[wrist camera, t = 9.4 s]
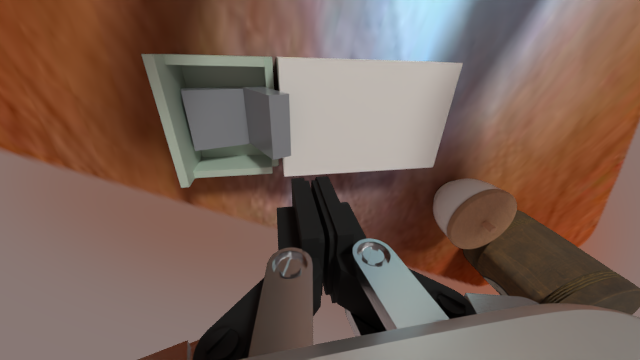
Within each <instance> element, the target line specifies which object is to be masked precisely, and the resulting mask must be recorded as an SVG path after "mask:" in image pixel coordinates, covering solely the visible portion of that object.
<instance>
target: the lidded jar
mask: <svg viewBox="0 0 640 360" xmlns="http://www.w3.org/2000/svg"><path fill="white" fill-rule="evenodd" d="M433 202H434V203H433V215H434V218H435V221H436V222H437V224H438V226H439V227H440V229H441V230H442V231H443V233H444V234H445V235H446V236H447V237H448V238H449V240H450V241H451V242H452V243H453V244H454V245H455V246H456V247H458V248H462V249H474V248H478V247H481V246H484V245H486V244H488V243H490V242H491V241H493V240H495V239H496V238H497V237H499V236H500V235H501V234H502V233H503V232H504V231H505V230H506V229H507V228H508V227H509V225H510V224H511V222H512V221H513V219H514V217H515V214H516V211H517V203H516V200H515V198H514V197H513V196H512V195H511V194H510V193H508V192H506V191H504V190H501V189H499V188H497V187H496V186H494V185H491V184H489V183H487V182H484V181H481V180H477V179H459V180H456V181H450V182H448V183H446V184H444V185H443V186H441V187H440V188H439V189H438V191H437V192H436V194H435V196H434V201H433Z"/></svg>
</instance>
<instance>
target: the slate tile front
mask: <svg viewBox="0 0 640 360" xmlns="http://www.w3.org/2000/svg"><path fill="white" fill-rule="evenodd" d="M243 92H244V100H245V108H246V116H247V125H248V133H249V141H250V143H251V144H252V145H254V146H255V147H256V148H258V149H259V150H260V151H262V152H263V153H264V154H266V155H267V156H268V157H270V158H271V159H273V160H276V159H280V158H284V157H288V156H291V137H290V106H289V94H288V93H284V92H280V91H277V90H273V89H269V88H266V87H262V86H256V87H243Z"/></svg>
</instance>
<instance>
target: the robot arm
mask: <svg viewBox="0 0 640 360" xmlns="http://www.w3.org/2000/svg"><path fill="white" fill-rule="evenodd" d="M277 225H278V249H279V251H277V252H276V253H274V254H273V255H272V256H271V257H270V259H269V261H268V263H267V267H266V272H265V277H264V278H263V279H262V280H261V281H260V282H259V283H258V284H257V285H256V286H255V287H253V288H252V289H251V290H250V291H249V292H248V293H247V294H246V295H245V296H244V297H243V298H242V299H241V300H240V301H238V302H237V303H236V304H235V305H234V306H233V307H232V308H231V309H230V310H229V311H228V312H227V313H226V314H224V316H223V317H221V318H220V319H219V320H218V321H217V322H216V323H215V324H214V325H213V326H212V327H210V328H209V329H208V330H207V332H206V333H205V334H204V335H203V336H202V337H201V338H200V340H197V341H195V342H192V343H190V344H189V342H188V341H185V342H182V343H179V344H177V345H175V346H172V347H169V348H167V349H164V350H161V351H159V352H157V353H154V354H151V355H149V356H146V357H144V358H141V359H138V360H640V318H639V317H637V316H633V315H631V314H627V313H624V312H620V311H617V310H612V309H607V308H602V307H596V306H591V305H580V304H568V303H548V304H539V303H537V302H535V301H533V300H530V299H528V298H524V297H518V296H503V295H488V294H474V293H465V295H464V296H463V295H461V294H460V293H458V292H457V291H455V290H452V289H451V288H449V287H447V286H444V285H443V284H440V283H438V282H436V281H434V280H432V279H430V278H428V277H426V276H423V275H421V274H419V273H417V272H415V271H413V270H411V269H409V268H407V267H406V265H405V264H404V263H403V262H402V261H401V259H400V258H399V257H398V256H397V255H396V253H395V252H394V251H393V250H392V249H391V248H390V247H389V246H388V245H387V244H385V243H384V242H382V241H379V240H376V239H367V238H366V236H365V234H364V232H363V231H362V229H361V227H360V225H359V223H358V221H357V219H356V217H355V215H354V213H353V211H352V209H351V207H350V205H349V204H348V203H347V202H342V203H340V201H339V199H338V197H337V195H336V193H335V191H334V188H333V186H332V184H331V182H330V180H329V178H328V177H316V179H315V180H312V182H311V188H310V184H309V181H304V178H295V179H292V207H282V208H277ZM323 286H324V291H325V294H326V295H330V296H331V300H332V303H338V304H339V305H340V306H342V307H344V308H345V313H346V317H347V319H348V321H349V323H350V325H351V328H352V330H353V332H354V334H355V337H352V338H348V339H342V340H337V341H332V342H327V343H321V344H316V345H313V316H314V315H315V313H316V312H317V310H318V309H319V308H320V305H321V295H322V287H323Z"/></svg>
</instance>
